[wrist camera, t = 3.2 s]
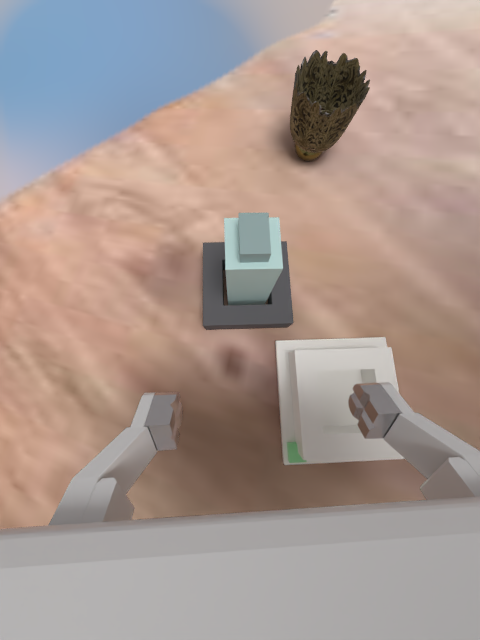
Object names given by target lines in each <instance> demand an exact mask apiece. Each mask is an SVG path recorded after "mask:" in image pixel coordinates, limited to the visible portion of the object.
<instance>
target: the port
mask: <svg viewBox="0 0 480 640" xmlns="http://www.w3.org/2000/svg"><path fill="white" fill-rule="evenodd" d="M275 350H276V365H277V380H278V395H279V410H280V425H281V440H282V456H283V464H284V465H297V464H316V463H335V462H354V461H373V460H392V459H405V458H404V457H402V456H401V455H400V454H399V453H398V452H397V451H396V450H395V449H394V448H392V447H391V446H390V445H389V444H388V443H387V442H386V441H385V440H384V438H378V439H365V438H364V436H363V434H362V433H361V431H360V429H359V427H358V425H357V424H358V419H356V418H355V417H354V416H353V415H352V413H351V411H350V409H349V403H348V400H349V397H350V395H351V394H353V393H354V391H353V387H354V385H355V384H361V383H384V382H389V383H391V384H392V385H393V386H394V388H395V389H396V390H397V391H398V393H399V389H398V383H397V377H396V372H395V366H394V360H393V354H392V348H391V347H387V344H386V338H385V337H376V338H344V339H312V340H281V341H275Z"/></svg>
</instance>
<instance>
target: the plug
mask: <svg viewBox="0 0 480 640" xmlns="http://www.w3.org/2000/svg"><path fill="white" fill-rule="evenodd" d="M224 228H225V270H226V283H227V296H228V305H265V303H266V301H267V299H268V297H269V295H270V293H271V291H272V289H273V287H274V285H275V283H276V281H277V279H278V277H279V276H280V274H281V272H282V270H283V261H282V249H281V236H280V223H279V218H269V214H268V213H239V218H224Z"/></svg>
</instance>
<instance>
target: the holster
mask: <svg viewBox="0 0 480 640" xmlns="http://www.w3.org/2000/svg"><path fill="white" fill-rule="evenodd" d="M281 249H282V261H283V270H282V272H281V274H280V276H279V277H278V279H277V281H276V283H275V285H274V287H273V289H272V291H271V293H270V295H269V297H268V304H266V305H227V306H224V290H223V270H225V242H217V243H203V326H204V328H205V329H206V330H214V329H249V328H283V327H289V326H290V325H291V324H293V313H292V301H291V289H290V277H289V265H288V253H287V241H286V242H281Z"/></svg>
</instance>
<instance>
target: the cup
mask: <svg viewBox="0 0 480 640" xmlns="http://www.w3.org/2000/svg"><path fill="white" fill-rule="evenodd" d="M336 63H337V64H334V62H333V61H330V63H329V61H328V62H327V51H325V52H324V53H323V54H322V56H321V58H320V53H319V52H318V51H317V50H316V51H314V52H313V54H312V55H311V57H310V59H309V61H308V63H307V61H306V57H304V59H303V62H302V64H301V69H300V68H299V65H298V67H297V71H296V73H295V82H294V90H293V97H292V106H291V115H290V130H291V135H292V138H293V140H294V142H295V150H296V153H297V155H298V156H299V157H300V158H301V159H303V160H306V161H312V160H315V159H316V158H318V157H319V156H320V155H321V153H322V152H323V151H325V150H327V149H329V148H330V147H332V146H333V145H334V144H335V143H336V142H337V141H338V140H339V138H340V137H341V136H342V134H343V133H344V131H345V130H346V128H347V127H348V125H349V123H350V122H351V120H352V118H353V117H354V115H355V113H356V112H357V110H358V108H359V107H360V105H361V103H362V102H363V100H364V99H365V97H366V95H367V93H368V91H369V88H370V87H368V85H369V82H370V80H368V81H367V82H366V83H363V82H364V80H365V75H366V70H365V71H364V72H362V73H361V74H360V72H359V70H360V66H359V62H358V59H357V58H354V59H352V60H348V59H347V55H346V54H345V53H343V54H342V55H341V56H340V58H339V60H338V61H337V62H336Z"/></svg>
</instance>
